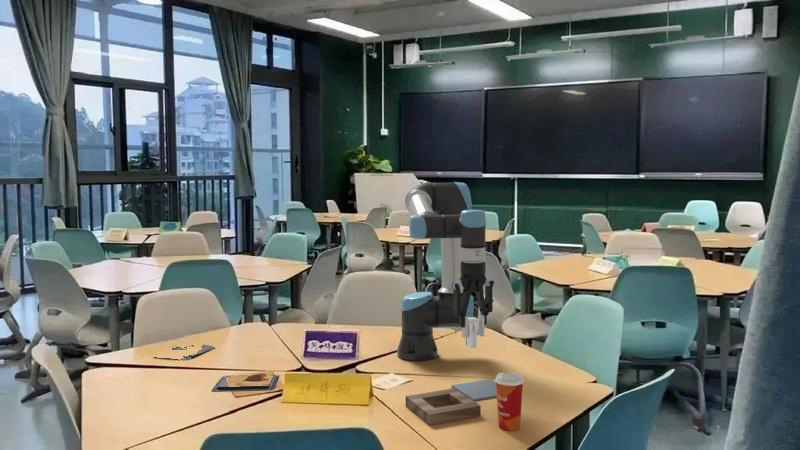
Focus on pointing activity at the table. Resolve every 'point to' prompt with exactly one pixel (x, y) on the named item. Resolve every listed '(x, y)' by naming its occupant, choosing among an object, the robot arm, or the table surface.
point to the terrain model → (204, 349)
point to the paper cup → (509, 400)
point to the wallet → (223, 386)
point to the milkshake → (472, 332)
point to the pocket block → (457, 411)
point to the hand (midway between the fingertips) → (473, 336)
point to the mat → (478, 389)
